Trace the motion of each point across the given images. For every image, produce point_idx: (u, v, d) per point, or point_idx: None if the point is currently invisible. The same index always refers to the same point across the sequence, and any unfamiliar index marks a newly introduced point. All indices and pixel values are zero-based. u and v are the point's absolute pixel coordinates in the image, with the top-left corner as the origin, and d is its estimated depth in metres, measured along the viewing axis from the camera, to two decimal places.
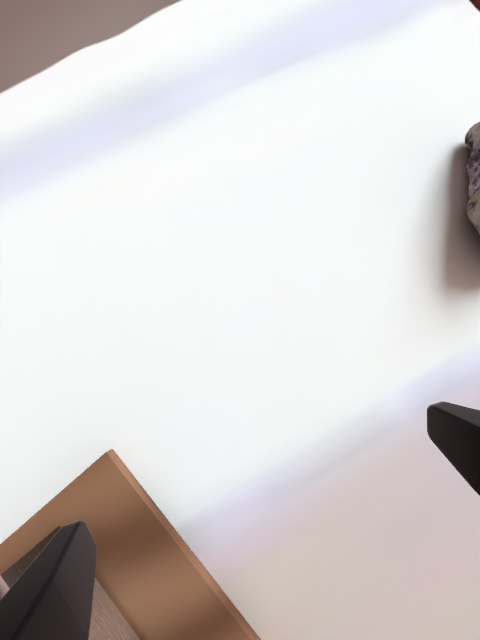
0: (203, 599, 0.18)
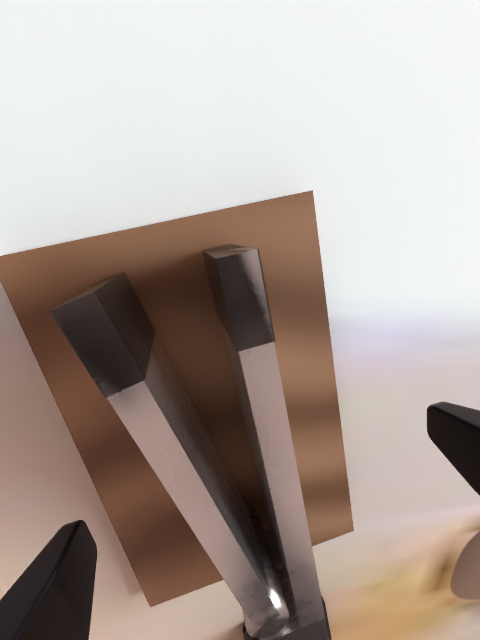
0: (324, 389, 0.17)
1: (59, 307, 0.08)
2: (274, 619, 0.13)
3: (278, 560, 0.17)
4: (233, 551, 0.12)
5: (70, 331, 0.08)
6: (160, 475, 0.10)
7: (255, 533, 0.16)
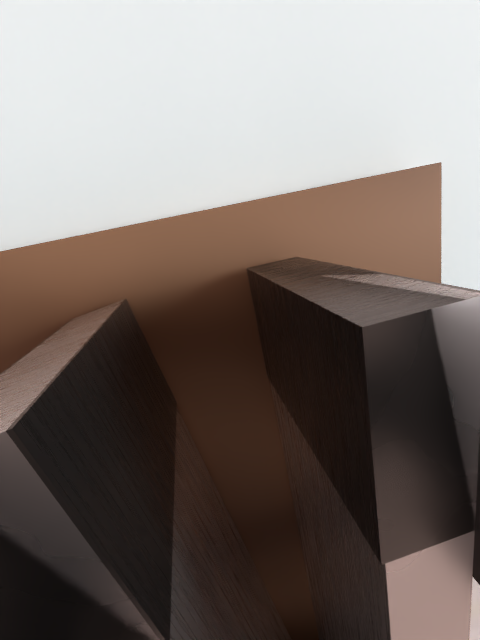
0: None
1: None
2: None
3: None
4: None
5: None
6: None
7: None
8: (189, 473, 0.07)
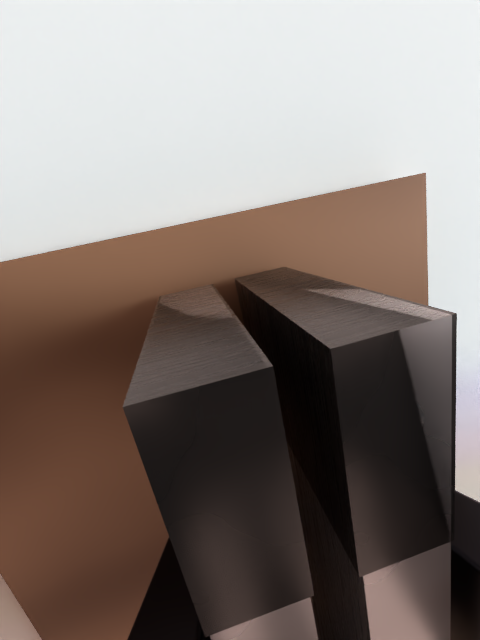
0: None
1: (158, 399, 0.03)
2: None
3: None
4: None
5: (171, 469, 0.03)
6: None
7: None
8: None
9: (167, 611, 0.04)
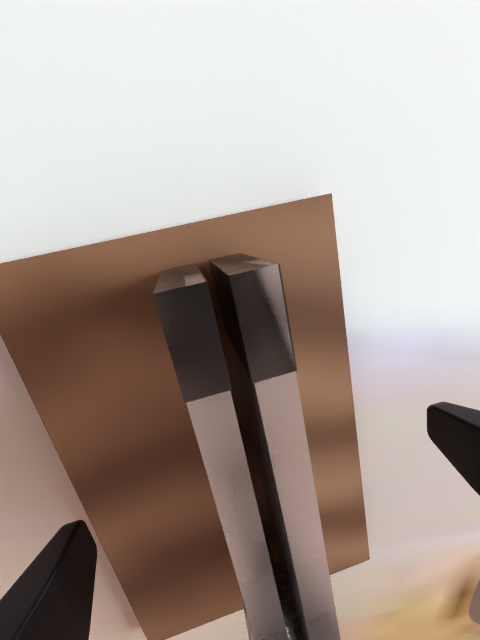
0: (341, 410, 0.16)
1: (165, 291, 0.07)
2: None
3: (290, 598, 0.15)
4: (268, 595, 0.11)
5: (169, 320, 0.07)
6: (218, 499, 0.09)
7: None
8: None
9: None
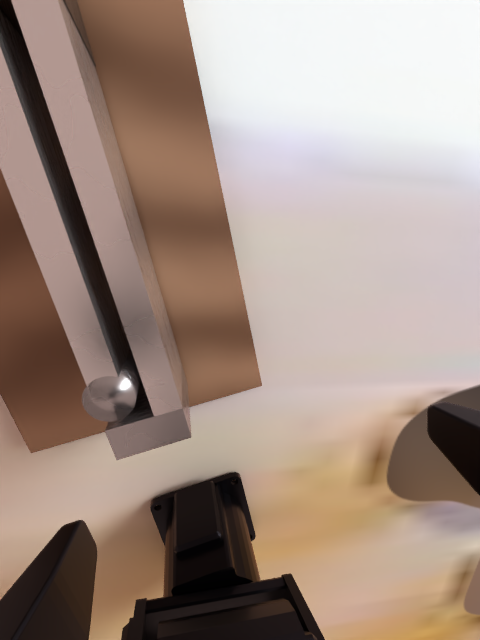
0: (209, 197, 0.16)
1: None
2: (117, 398, 0.12)
3: None
4: (72, 278, 0.11)
5: None
6: None
7: None
8: None
9: None
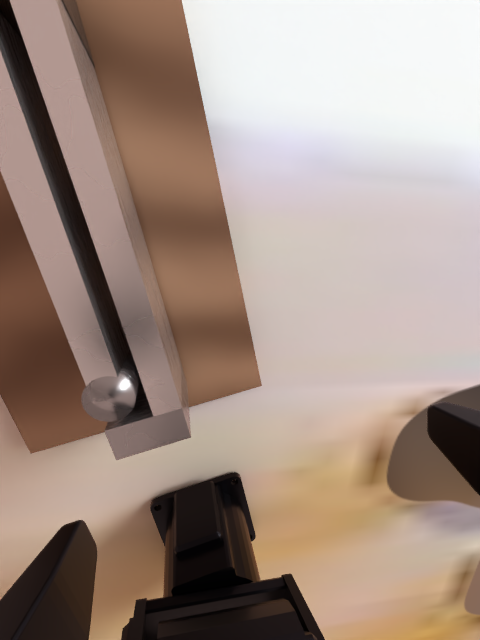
0: (208, 197, 0.16)
1: None
2: (116, 398, 0.12)
3: None
4: (72, 278, 0.11)
5: None
6: None
7: None
8: None
9: None
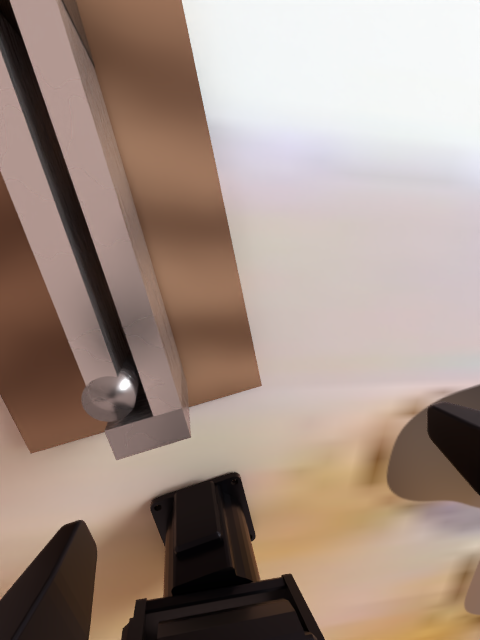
0: (208, 197, 0.16)
1: None
2: (116, 398, 0.12)
3: None
4: (72, 278, 0.11)
5: None
6: None
7: None
8: None
9: None
